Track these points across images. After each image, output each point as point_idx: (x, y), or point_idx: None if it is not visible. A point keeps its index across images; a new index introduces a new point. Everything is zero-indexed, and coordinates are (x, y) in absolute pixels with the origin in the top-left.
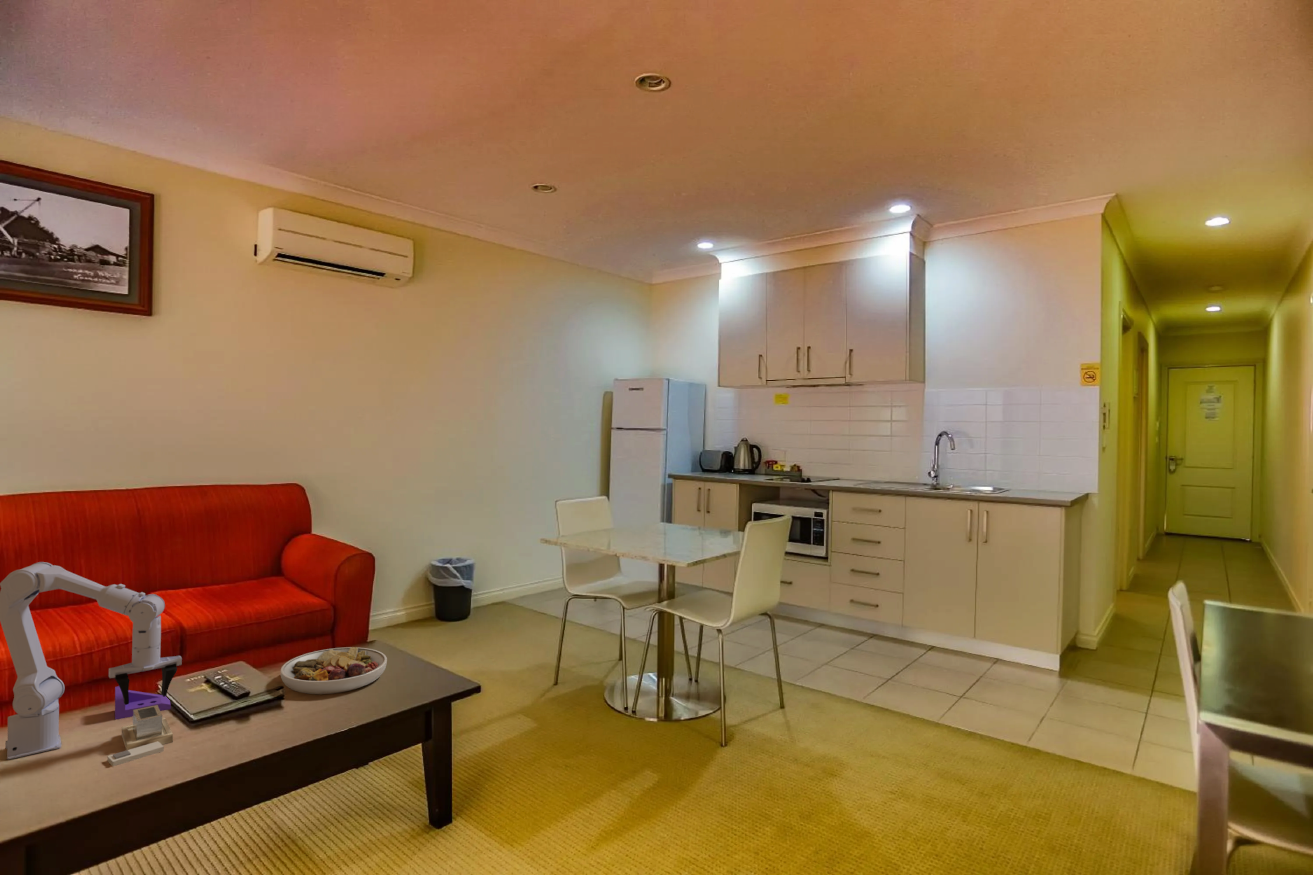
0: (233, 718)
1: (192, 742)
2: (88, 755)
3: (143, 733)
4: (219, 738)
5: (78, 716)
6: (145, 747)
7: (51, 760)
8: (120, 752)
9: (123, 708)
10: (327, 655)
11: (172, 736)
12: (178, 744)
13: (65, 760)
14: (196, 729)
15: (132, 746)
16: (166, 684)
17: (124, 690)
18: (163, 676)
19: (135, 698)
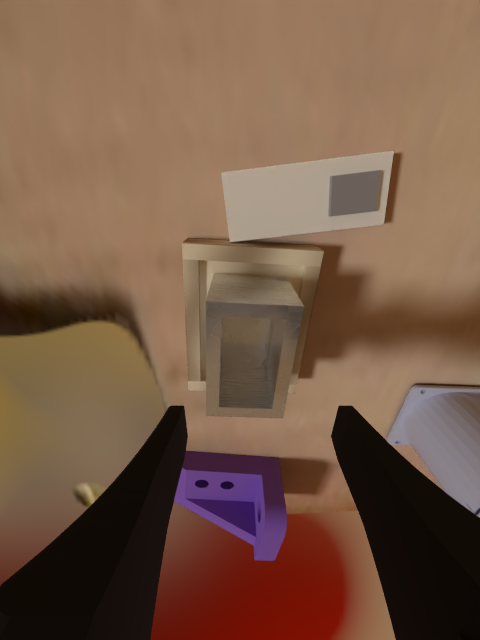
0: (5, 304)
1: (127, 181)
2: (391, 300)
3: (270, 283)
4: (30, 144)
5: (324, 498)
6: (273, 212)
7: (458, 328)
8: (353, 210)
9: (265, 479)
10: None
11: (184, 241)
12: (172, 199)
13: (440, 306)
14: (114, 291)
15: (305, 247)
16: (148, 465)
17: (422, 482)
18: (152, 554)
19: (233, 509)
